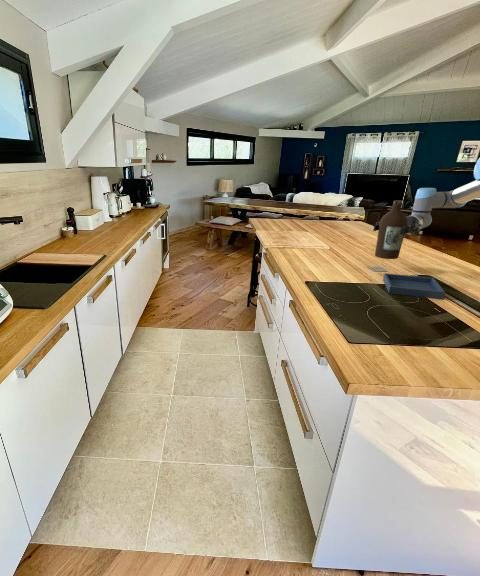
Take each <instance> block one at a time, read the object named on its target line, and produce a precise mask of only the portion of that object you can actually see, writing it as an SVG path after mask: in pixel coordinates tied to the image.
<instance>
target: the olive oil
mask: <svg viewBox="0 0 480 576" xmlns="http://www.w3.org/2000/svg"><path fill="white" fill-rule="evenodd" d="M402 205H403V200H393V204H392V207H391V209H390V210H389V211H388V212H387V213H385V214H384V215H383V216H382V217H381V219H380V220H379V222H380V223H379V230H377V231H378V232H377V239H376V244H375V245H376V246H375V251H374V256H375V257H376V258H378V259H384V260H385V259H386V260H396V259H397V260H398V259H399V256H400V253H401V249H402V248H401V247H402V245H403V242H404V238H405V235H406V234H404V235H400V232H401V228H405V227H407V224H408V221H407V218H406V217H407V216H406V215H405V213H403V211H402Z"/></svg>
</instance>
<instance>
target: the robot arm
mask: <svg viewBox="0 0 480 576" xmlns="http://www.w3.org/2000/svg"><path fill="white" fill-rule="evenodd" d="M473 178H474V179H475V180H472V181H471V182H469V183H467V184H464V185H461V186H459V187H457V188H455V189H453V190H450V191H437V188H435V187H420V188H418V189H417V191H416V194H415V196H414V203H413V207H412V211H411V215H407V216H406V218H407V221H408V224H407V227H405V228H401V232H400V235H404V234H405V235H406V234H413V233H414V234H419V231H421V230H422V229H425V228H427V227H429V226H430V225H431V223H432V221H433V218H432V214H431V213H432V210H433V209H456V208H457V209H458V208H462V207H464V206H465V205H466V204H467V203H468V202H470V201H473V200H476V199H479V198H480V157H479V158H478V159H477V161H476V163H475V165H474V168H473ZM379 223H380V221H376V222H375V224H374V225H373V230H372V231H373V232H377V231H378V230H379ZM405 235H404V236H405Z"/></svg>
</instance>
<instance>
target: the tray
mask: <svg viewBox="0 0 480 576" xmlns="http://www.w3.org/2000/svg"><path fill="white" fill-rule="evenodd" d="M382 280H383V283H384V286H385V288H386V291H387V292H388V293H387V294H391V295H399V296H400V295H401V296H409V297H416V298H417V297H418V298H427V299H435V300H444V299H445V296H446V291H445V290H444V289H443V287H442V286H441V285H440V284H439V282H437V280H436V279H435V278H434V277H429V276H419V275H418V276H417V275H406V274H396V273H395V274H394V273H385V272H384V273H383V278H382Z"/></svg>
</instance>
